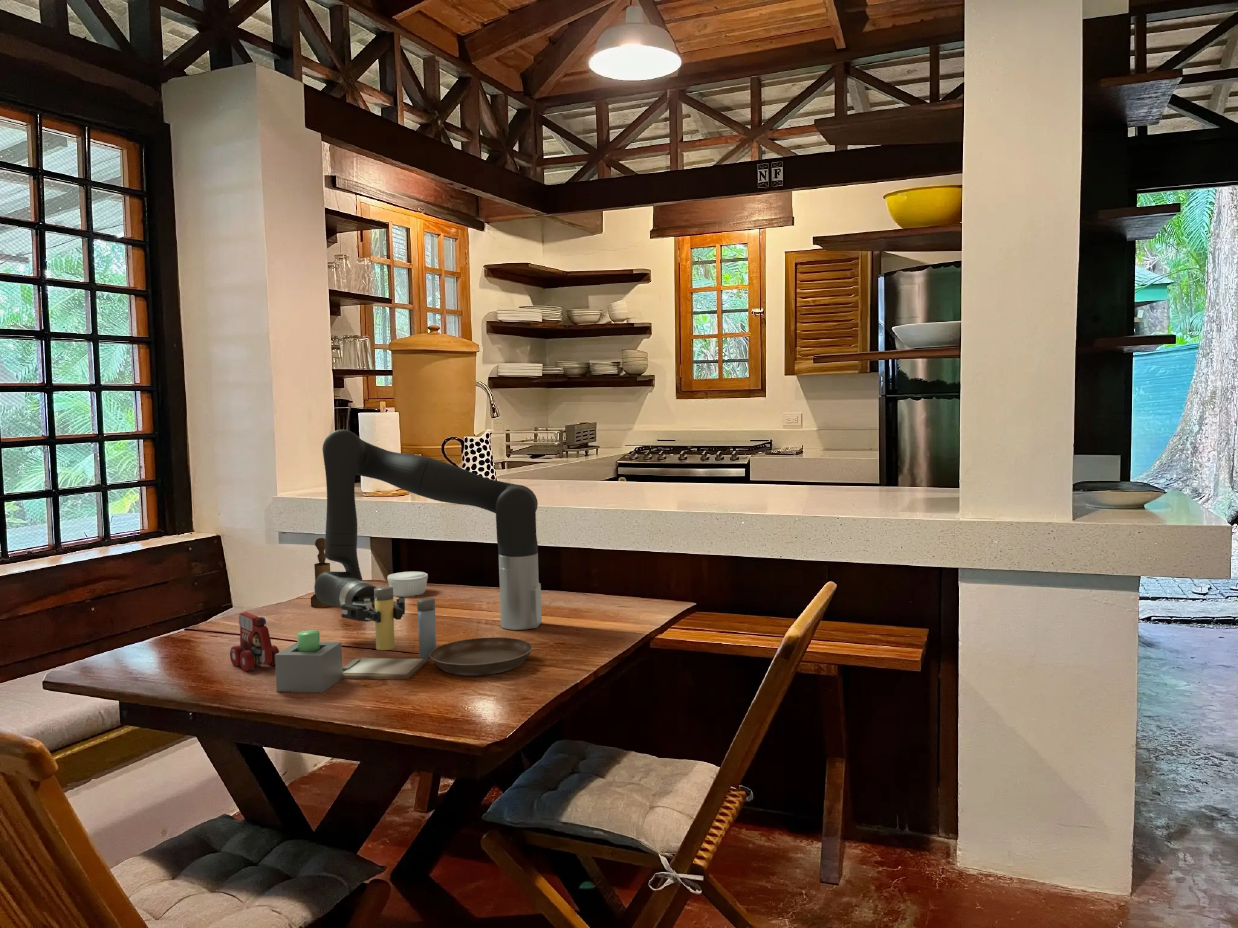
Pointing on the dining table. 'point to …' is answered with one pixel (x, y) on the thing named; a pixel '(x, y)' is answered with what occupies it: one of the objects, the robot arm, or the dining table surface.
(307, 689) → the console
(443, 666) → the plant saucer
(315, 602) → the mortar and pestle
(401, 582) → the ramekin
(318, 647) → the button
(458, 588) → the dining table surface
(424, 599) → the slate
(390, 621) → the marker mustard
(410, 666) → the sketch pad
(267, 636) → the toy fire truck
